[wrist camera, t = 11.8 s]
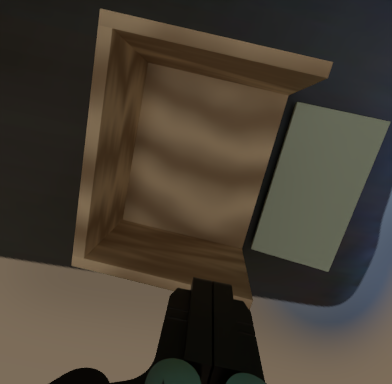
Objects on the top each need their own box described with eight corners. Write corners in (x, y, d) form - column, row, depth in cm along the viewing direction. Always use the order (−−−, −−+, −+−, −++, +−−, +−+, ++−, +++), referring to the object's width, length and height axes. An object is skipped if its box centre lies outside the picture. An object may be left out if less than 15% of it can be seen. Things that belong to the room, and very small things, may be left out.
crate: (144, 54, 28) (100, 8, 17) (287, 87, 27) (332, 62, 17) (118, 220, 33) (71, 265, 22) (238, 250, 33) (249, 309, 22)
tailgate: (297, 101, 26) (390, 121, 25) (294, 103, 27) (382, 122, 26) (251, 249, 30) (328, 271, 29) (250, 243, 32) (324, 265, 31)
